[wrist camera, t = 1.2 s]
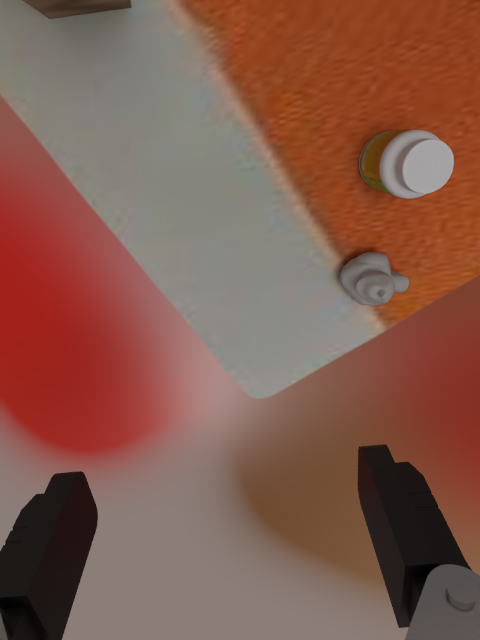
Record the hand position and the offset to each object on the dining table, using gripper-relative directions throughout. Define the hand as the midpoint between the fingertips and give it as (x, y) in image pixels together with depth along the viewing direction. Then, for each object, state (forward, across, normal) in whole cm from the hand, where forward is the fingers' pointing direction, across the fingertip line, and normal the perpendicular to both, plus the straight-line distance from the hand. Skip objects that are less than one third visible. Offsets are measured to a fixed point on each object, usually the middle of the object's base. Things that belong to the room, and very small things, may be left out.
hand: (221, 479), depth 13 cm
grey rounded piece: (+35, -14, +8) cm, 38 cm away
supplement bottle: (+36, -15, -3) cm, 39 cm away
